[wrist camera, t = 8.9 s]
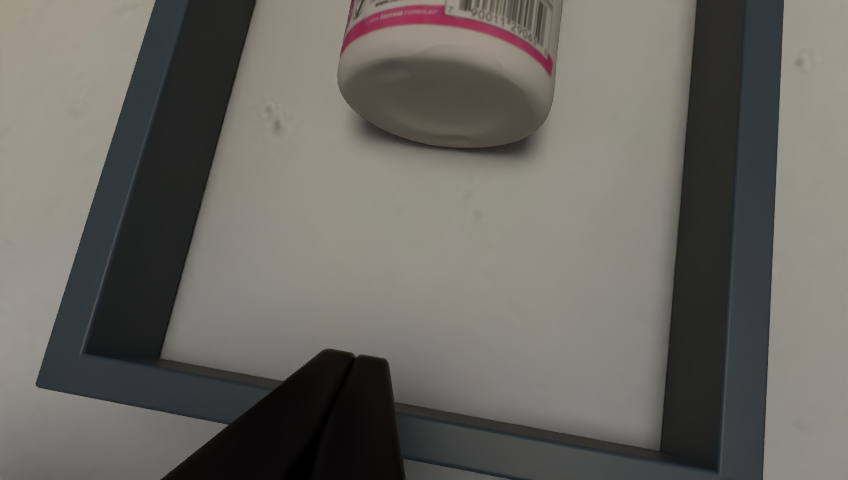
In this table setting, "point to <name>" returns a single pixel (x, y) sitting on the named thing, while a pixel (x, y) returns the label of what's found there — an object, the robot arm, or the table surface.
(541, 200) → the table surface
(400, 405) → the bin
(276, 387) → the robot arm
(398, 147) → the table surface
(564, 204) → the table surface
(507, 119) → the pill bottle
